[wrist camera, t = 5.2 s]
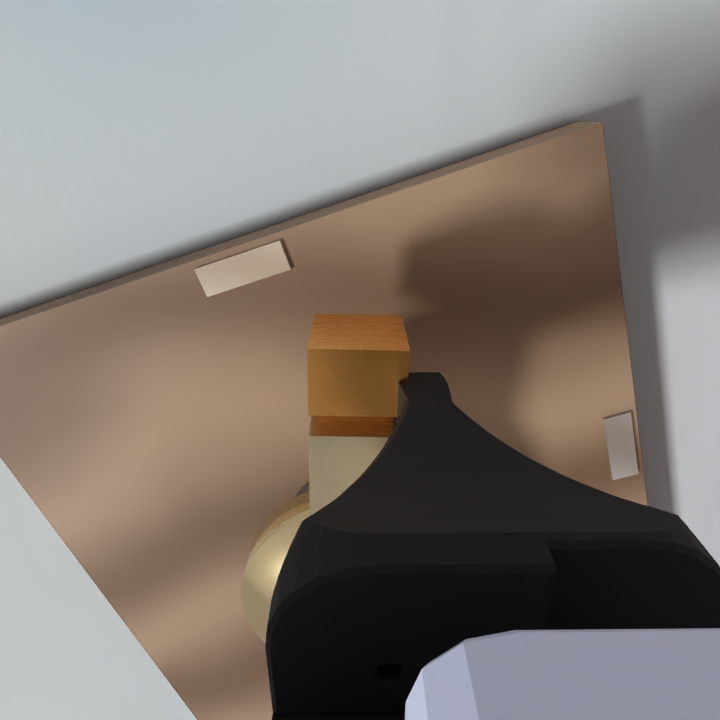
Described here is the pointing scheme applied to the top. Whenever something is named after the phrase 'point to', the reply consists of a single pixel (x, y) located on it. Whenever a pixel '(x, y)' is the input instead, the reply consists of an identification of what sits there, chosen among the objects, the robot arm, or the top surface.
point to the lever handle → (332, 434)
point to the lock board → (290, 381)
